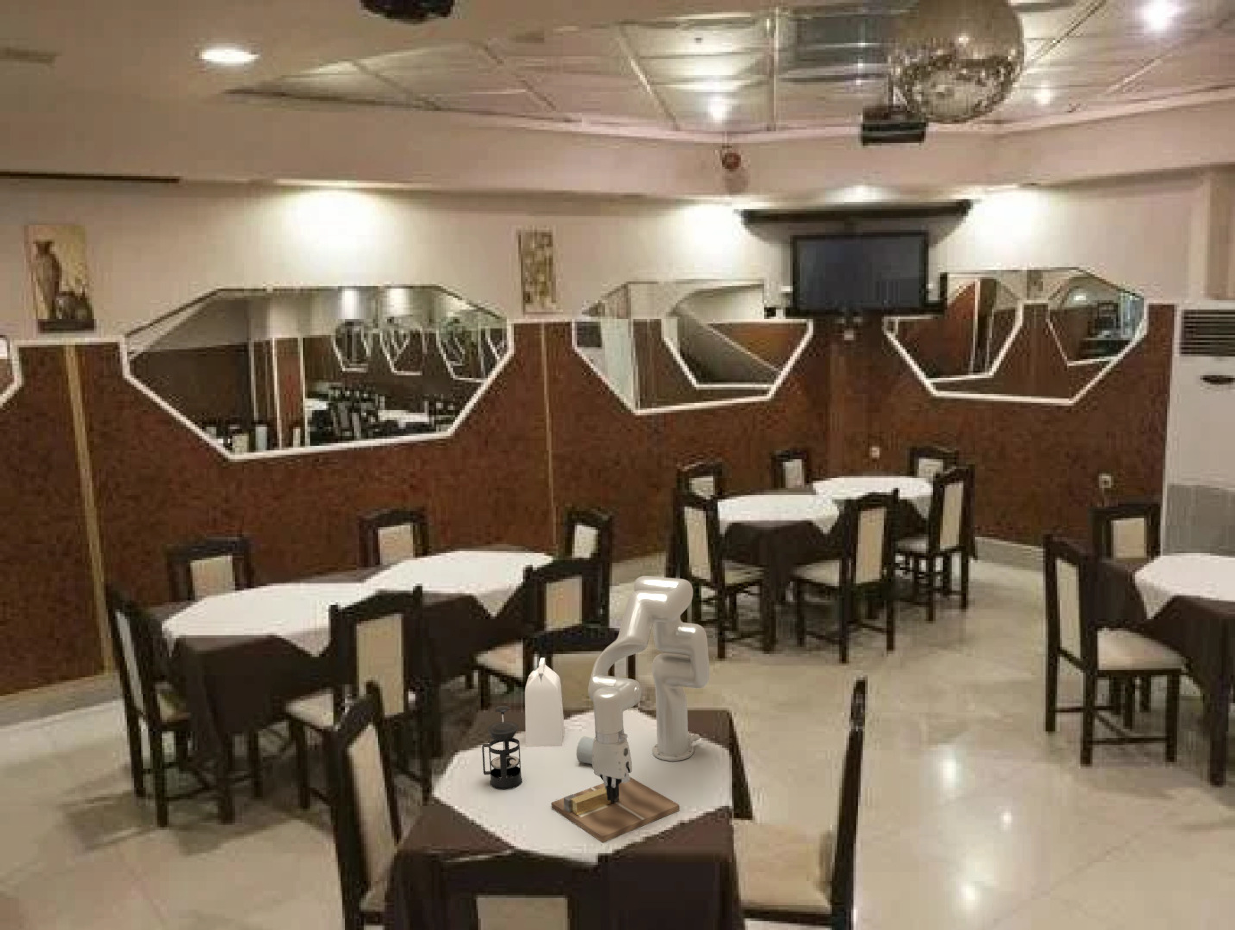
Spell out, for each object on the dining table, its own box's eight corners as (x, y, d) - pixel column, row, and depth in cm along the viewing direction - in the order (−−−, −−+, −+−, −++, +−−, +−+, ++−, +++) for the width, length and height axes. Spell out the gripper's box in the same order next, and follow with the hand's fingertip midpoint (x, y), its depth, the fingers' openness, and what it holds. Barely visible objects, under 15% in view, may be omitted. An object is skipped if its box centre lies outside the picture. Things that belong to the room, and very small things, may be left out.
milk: (562, 745, 322) (558, 667, 318) (525, 746, 322) (521, 668, 318) (564, 730, 334) (561, 654, 330) (529, 731, 334) (525, 655, 330)
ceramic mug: (600, 770, 304) (600, 745, 303) (576, 765, 307) (575, 741, 306) (615, 756, 314) (614, 732, 313) (591, 752, 317) (590, 728, 316)
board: (626, 779, 297) (625, 763, 297) (679, 810, 278) (679, 792, 278) (551, 807, 282) (550, 790, 281) (602, 842, 263) (602, 823, 262)
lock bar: (613, 794, 284) (613, 782, 284) (622, 800, 281) (621, 788, 281) (570, 810, 276) (569, 798, 276) (578, 815, 273) (577, 803, 273)
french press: (525, 774, 303) (522, 700, 299) (523, 789, 294) (519, 713, 290) (486, 775, 303) (482, 702, 299) (482, 790, 294) (478, 714, 290)
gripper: (641, 734, 268) (644, 798, 271) (593, 723, 276) (597, 785, 279) (626, 746, 261) (629, 811, 265) (578, 734, 269) (582, 798, 273)
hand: (613, 798), depth 272 cm, fingers closed
